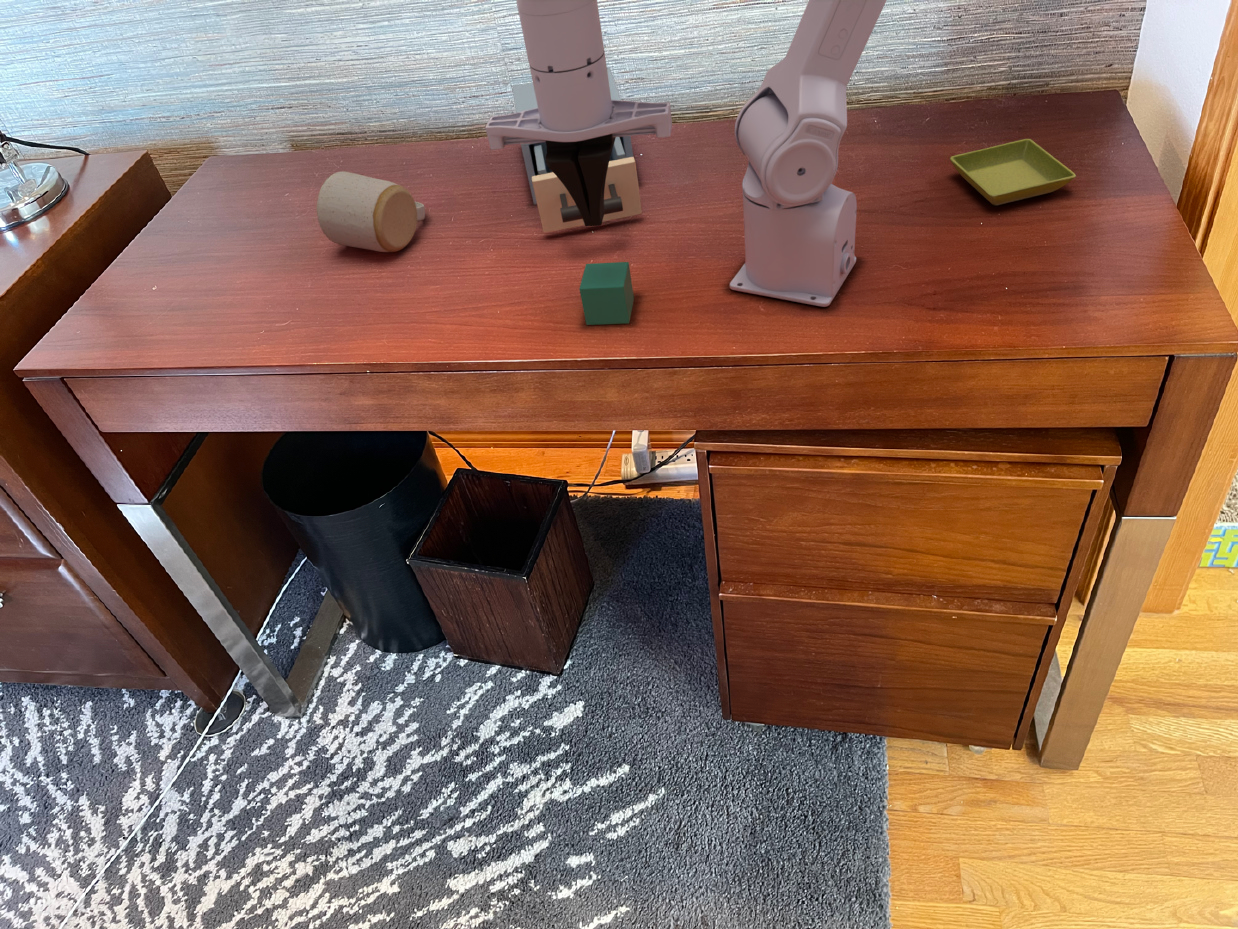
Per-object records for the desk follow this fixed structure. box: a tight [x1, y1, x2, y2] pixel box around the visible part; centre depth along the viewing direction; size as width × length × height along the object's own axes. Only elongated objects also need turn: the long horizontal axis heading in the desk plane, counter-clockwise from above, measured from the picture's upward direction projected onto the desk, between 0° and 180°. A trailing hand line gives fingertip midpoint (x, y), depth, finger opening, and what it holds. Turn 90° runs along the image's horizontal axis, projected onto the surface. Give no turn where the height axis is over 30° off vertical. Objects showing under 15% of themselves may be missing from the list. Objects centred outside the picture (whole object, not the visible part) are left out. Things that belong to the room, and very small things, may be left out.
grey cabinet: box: [511, 67, 634, 205], centre depth 102 cm, size 15×12×8 cm
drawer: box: [532, 137, 643, 234], centre depth 94 cm, size 18×10×6 cm, turn 8°
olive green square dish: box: [949, 138, 1077, 207], centre depth 88 cm, size 9×9×2 cm
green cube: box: [578, 261, 635, 326], centre depth 81 cm, size 4×4×4 cm
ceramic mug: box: [316, 170, 426, 253], centre depth 96 cm, size 11×8×8 cm
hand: (594, 220), depth 76 cm, fingers closed
